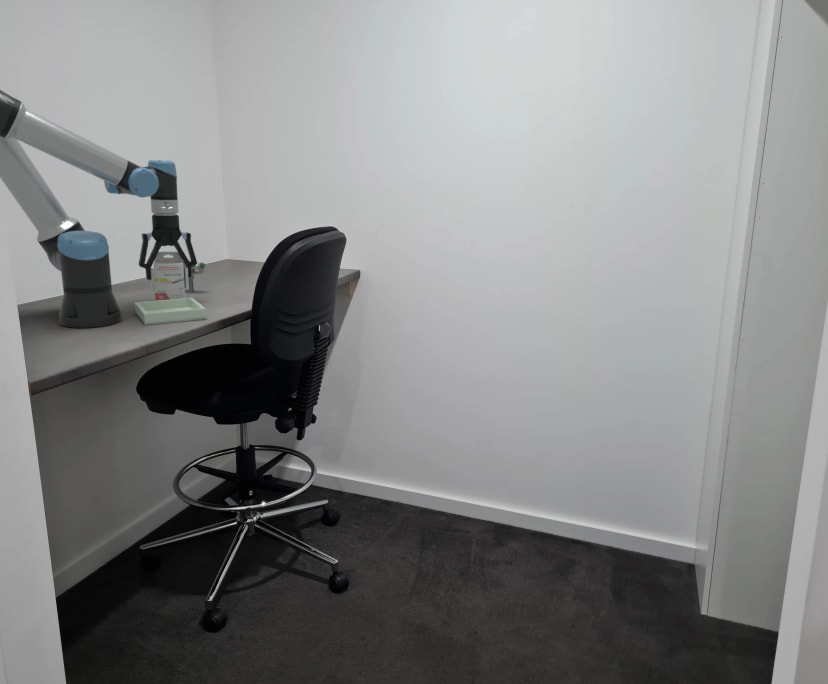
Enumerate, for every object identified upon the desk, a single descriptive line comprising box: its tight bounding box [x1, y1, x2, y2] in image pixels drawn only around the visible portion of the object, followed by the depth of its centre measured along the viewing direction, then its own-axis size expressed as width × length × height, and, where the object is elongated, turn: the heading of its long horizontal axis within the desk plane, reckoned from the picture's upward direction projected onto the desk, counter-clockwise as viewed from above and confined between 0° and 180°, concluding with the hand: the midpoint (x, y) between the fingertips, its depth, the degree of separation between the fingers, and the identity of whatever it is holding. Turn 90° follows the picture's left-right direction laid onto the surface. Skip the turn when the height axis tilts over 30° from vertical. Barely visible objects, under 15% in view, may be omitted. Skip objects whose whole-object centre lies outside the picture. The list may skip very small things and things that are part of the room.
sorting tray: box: [134, 297, 207, 326], centre depth 187 cm, size 16×16×3 cm
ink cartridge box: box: [153, 251, 186, 301], centre depth 202 cm, size 9×5×15 cm, turn 108°
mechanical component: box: [182, 260, 206, 293], centre depth 219 cm, size 3×10×10 cm, turn 78°
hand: (170, 289), depth 203 cm, fingers closed on ink cartridge box, 9 cm apart
